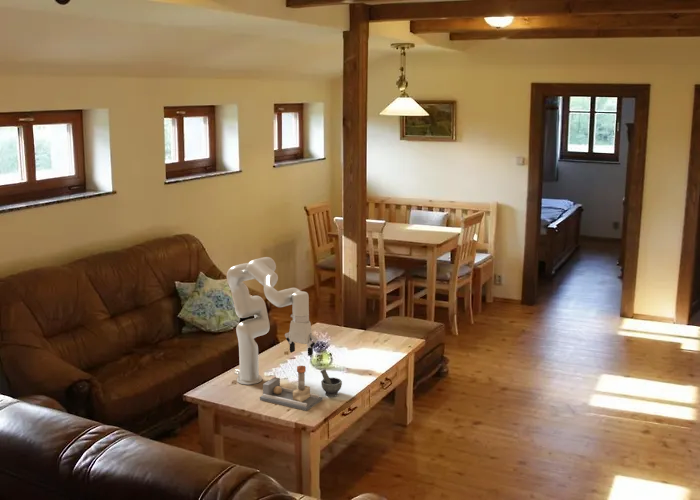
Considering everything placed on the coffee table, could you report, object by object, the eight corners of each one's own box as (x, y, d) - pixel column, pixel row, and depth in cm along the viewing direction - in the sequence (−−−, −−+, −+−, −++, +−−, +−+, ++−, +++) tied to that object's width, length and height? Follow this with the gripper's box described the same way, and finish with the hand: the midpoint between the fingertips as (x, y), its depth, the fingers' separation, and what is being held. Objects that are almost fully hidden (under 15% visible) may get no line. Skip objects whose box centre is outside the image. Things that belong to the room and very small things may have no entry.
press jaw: (292, 401, 368) (292, 369, 365) (303, 395, 376) (302, 363, 373) (300, 403, 367) (299, 370, 363) (310, 396, 374) (309, 364, 371)
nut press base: (260, 400, 375) (259, 385, 373) (276, 389, 387) (276, 375, 385) (306, 410, 362) (306, 395, 361) (322, 400, 374) (321, 385, 373)
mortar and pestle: (345, 393, 382) (345, 370, 379) (333, 400, 374) (333, 376, 372) (327, 388, 388) (326, 365, 386) (315, 394, 381) (315, 371, 378)
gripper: (280, 317, 364) (281, 352, 367) (312, 323, 356) (313, 359, 359) (289, 313, 370) (289, 348, 374) (321, 318, 362) (321, 354, 366)
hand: (301, 353), depth 367 cm, fingers open, 9 cm apart
